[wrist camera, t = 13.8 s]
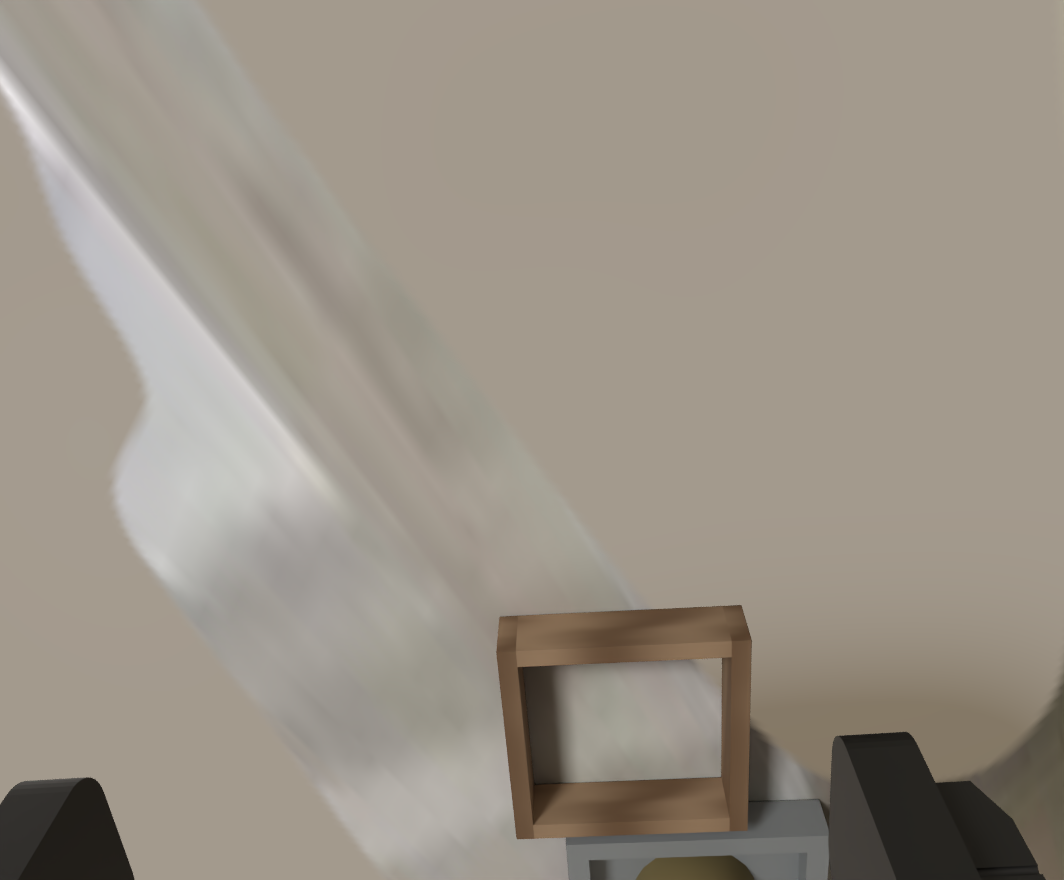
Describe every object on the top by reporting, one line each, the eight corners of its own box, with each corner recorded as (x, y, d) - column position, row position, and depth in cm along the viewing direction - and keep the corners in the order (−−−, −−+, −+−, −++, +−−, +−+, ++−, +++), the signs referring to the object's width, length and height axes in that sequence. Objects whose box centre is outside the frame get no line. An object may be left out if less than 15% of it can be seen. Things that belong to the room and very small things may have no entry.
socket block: (741, 605, 43) (751, 640, 40) (738, 789, 47) (747, 830, 45) (499, 616, 43) (496, 652, 41) (518, 797, 47) (516, 839, 45)
